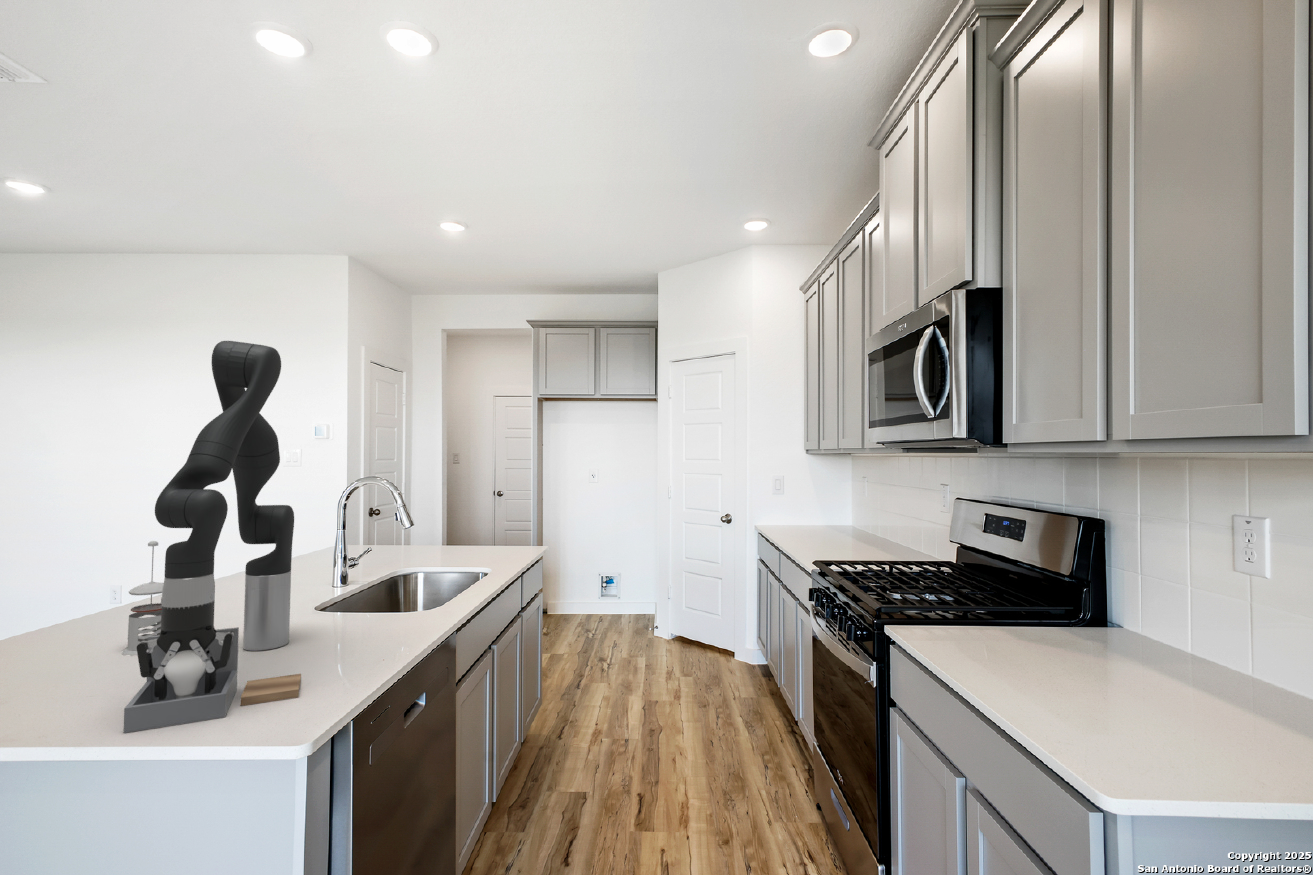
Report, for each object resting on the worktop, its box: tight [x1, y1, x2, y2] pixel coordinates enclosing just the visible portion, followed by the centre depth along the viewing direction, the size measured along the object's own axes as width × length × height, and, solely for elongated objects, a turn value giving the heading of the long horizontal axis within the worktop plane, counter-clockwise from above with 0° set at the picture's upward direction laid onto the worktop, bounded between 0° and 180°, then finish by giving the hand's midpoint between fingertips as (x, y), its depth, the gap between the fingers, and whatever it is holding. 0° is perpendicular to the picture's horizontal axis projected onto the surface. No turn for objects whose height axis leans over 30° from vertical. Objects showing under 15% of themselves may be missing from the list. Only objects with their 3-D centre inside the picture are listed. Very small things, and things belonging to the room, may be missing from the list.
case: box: [122, 627, 240, 734], centre depth 107 cm, size 14×14×12 cm
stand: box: [239, 673, 302, 707], centre depth 115 cm, size 9×9×2 cm
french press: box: [121, 540, 164, 656], centre depth 141 cm, size 10×12×25 cm
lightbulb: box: [164, 650, 206, 699], centre depth 107 cm, size 6×6×11 cm
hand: (185, 694), depth 107 cm, fingers closed on lightbulb, 6 cm apart
